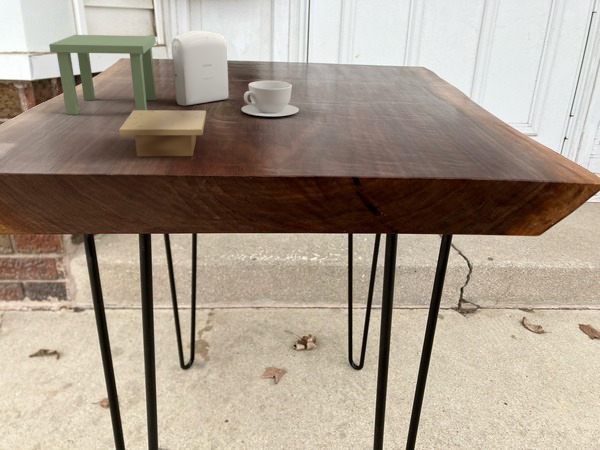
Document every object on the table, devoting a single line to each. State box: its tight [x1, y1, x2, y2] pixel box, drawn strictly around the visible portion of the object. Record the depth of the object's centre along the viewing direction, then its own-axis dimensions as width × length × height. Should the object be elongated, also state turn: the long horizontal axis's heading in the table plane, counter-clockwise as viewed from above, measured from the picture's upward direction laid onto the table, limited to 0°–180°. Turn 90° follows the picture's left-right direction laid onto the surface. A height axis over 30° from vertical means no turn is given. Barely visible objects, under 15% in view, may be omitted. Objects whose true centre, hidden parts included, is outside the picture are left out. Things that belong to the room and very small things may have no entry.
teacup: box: [240, 80, 300, 117], centre depth 91 cm, size 10×10×5 cm
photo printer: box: [171, 29, 229, 107], centre depth 95 cm, size 10×4×12 cm, turn 133°
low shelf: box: [118, 109, 207, 158], centre depth 70 cm, size 10×10×4 cm
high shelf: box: [48, 34, 157, 116], centre depth 90 cm, size 14×14×11 cm
